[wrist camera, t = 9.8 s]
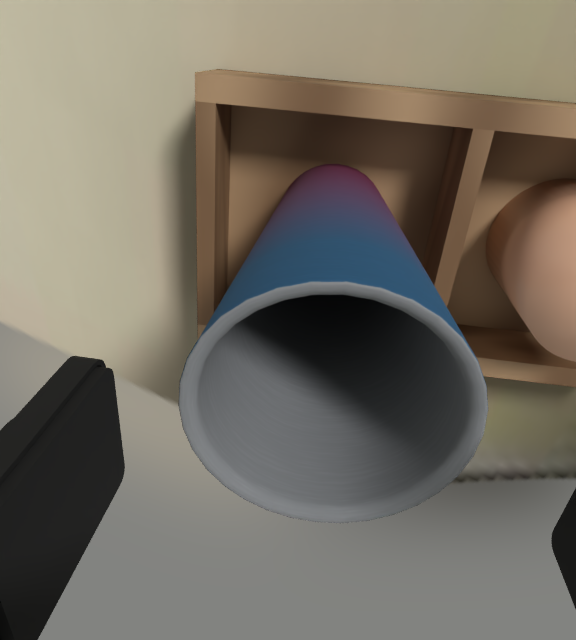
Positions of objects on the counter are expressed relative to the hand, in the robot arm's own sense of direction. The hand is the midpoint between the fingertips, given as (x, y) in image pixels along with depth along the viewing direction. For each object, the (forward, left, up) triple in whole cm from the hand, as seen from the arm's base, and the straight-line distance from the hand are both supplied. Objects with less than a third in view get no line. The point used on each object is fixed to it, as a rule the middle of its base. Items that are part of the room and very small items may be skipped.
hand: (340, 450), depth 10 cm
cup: (0, 0, -16) cm, 16 cm away
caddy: (-5, 0, -17) cm, 18 cm away
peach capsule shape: (-10, 0, -16) cm, 19 cm away
